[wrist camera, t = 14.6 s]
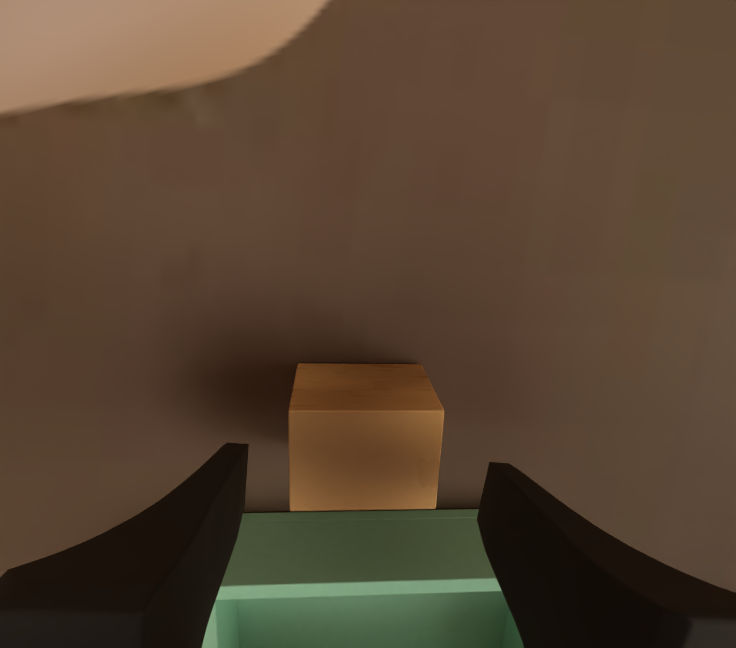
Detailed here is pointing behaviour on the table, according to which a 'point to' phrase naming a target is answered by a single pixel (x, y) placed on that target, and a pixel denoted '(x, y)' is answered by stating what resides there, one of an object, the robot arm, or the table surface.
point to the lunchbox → (360, 583)
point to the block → (363, 438)
